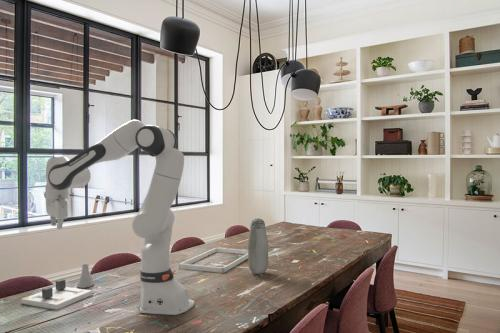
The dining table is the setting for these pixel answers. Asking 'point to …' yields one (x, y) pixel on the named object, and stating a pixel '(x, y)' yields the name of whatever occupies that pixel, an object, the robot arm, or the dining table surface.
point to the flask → (85, 277)
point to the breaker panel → (57, 298)
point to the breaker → (60, 284)
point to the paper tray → (214, 269)
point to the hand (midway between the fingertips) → (56, 227)
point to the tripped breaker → (47, 292)
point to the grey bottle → (258, 247)
